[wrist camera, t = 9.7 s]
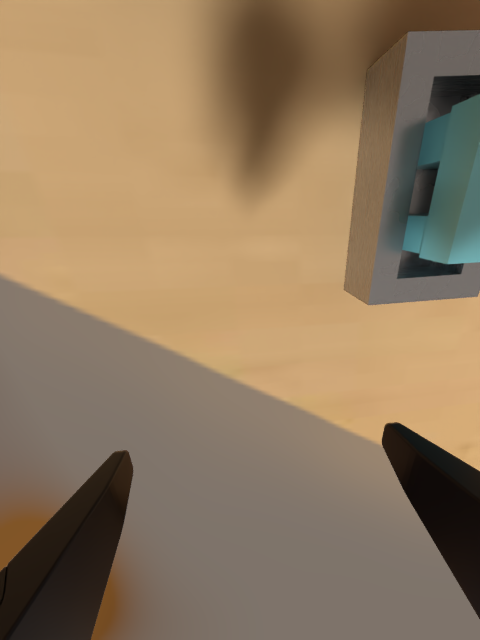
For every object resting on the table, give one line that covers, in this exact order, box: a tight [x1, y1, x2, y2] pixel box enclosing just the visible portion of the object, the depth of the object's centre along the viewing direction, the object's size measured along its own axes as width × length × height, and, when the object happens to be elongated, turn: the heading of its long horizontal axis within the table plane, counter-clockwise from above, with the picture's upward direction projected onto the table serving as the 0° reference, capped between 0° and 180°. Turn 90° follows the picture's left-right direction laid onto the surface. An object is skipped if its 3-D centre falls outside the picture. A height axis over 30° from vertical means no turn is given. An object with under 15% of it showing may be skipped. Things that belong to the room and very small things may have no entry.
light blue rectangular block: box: [402, 94, 480, 264], centre depth 14 cm, size 7×3×6 cm, turn 2°
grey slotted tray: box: [344, 30, 480, 305], centre depth 16 cm, size 13×7×4 cm, turn 3°
